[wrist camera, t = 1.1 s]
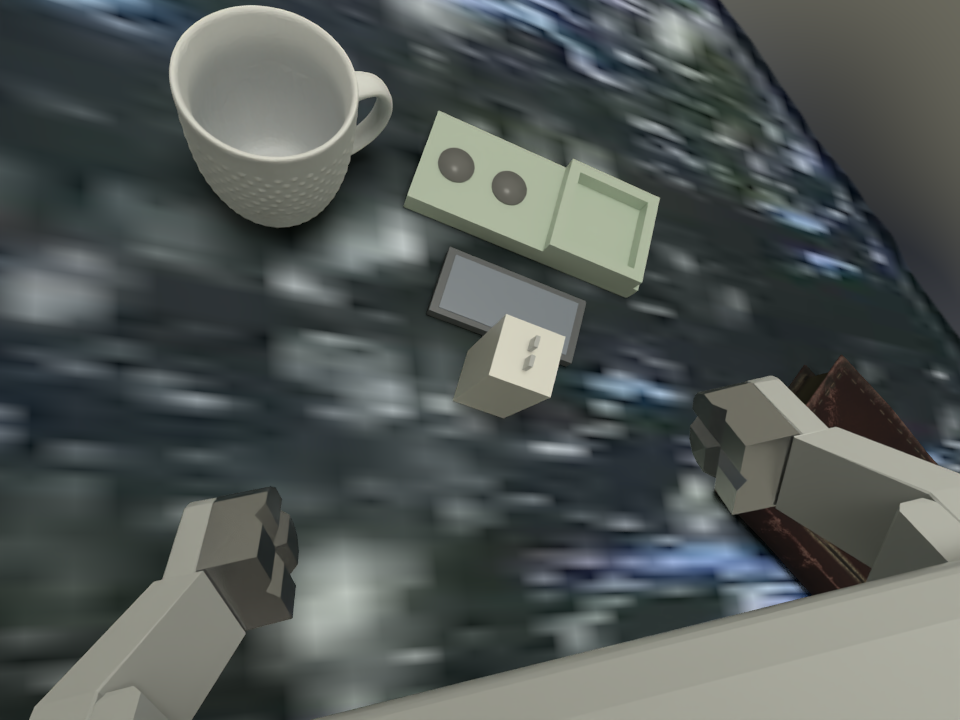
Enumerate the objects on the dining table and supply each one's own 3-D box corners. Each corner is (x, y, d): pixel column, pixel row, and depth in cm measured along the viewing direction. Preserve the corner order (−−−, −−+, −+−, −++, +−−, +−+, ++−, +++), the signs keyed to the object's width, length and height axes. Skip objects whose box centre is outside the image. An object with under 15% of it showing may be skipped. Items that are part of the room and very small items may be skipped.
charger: (452, 400, 48) (494, 371, 37) (467, 350, 49) (512, 308, 39) (503, 418, 48) (557, 393, 38) (516, 368, 50) (572, 332, 39)
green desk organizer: (403, 206, 50) (410, 185, 47) (433, 124, 53) (442, 99, 50) (626, 298, 55) (646, 284, 51) (643, 217, 57) (664, 200, 54)
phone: (426, 314, 49) (429, 309, 47) (446, 252, 51) (450, 246, 49) (565, 366, 51) (571, 363, 50) (580, 305, 53) (586, 301, 52)
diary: (889, 690, 54) (945, 709, 49) (705, 494, 53) (743, 493, 48) (967, 537, 60) (1023, 540, 55) (804, 360, 60) (847, 348, 55)
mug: (347, 99, 51) (361, -28, 39) (409, 204, 51) (443, 109, 38) (177, 154, 46) (131, 27, 34) (244, 273, 45) (222, 188, 33)
